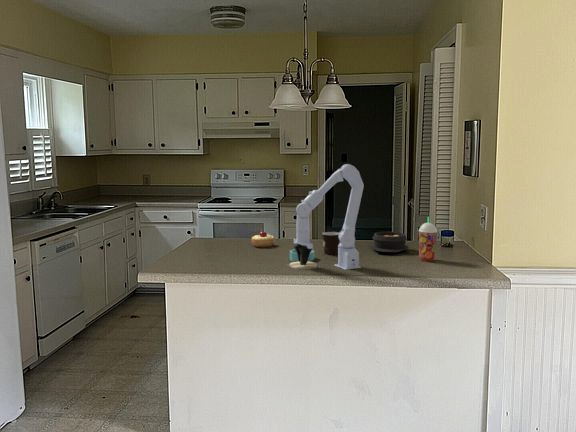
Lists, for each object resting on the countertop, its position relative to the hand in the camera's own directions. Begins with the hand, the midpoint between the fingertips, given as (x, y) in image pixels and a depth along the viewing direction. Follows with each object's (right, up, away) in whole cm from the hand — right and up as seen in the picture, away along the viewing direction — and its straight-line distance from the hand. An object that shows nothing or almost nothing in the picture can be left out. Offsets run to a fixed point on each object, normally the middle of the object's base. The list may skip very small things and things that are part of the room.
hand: (303, 262), depth 238 cm
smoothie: (+57, 0, +12) cm, 58 cm away
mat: (0, -2, 0) cm, 2 cm away
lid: (0, -2, 0) cm, 2 cm away
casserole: (+44, +3, +34) cm, 55 cm away
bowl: (0, 0, +14) cm, 14 cm away
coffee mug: (+14, +2, +28) cm, 31 cm away
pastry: (-20, +4, +48) cm, 52 cm away
